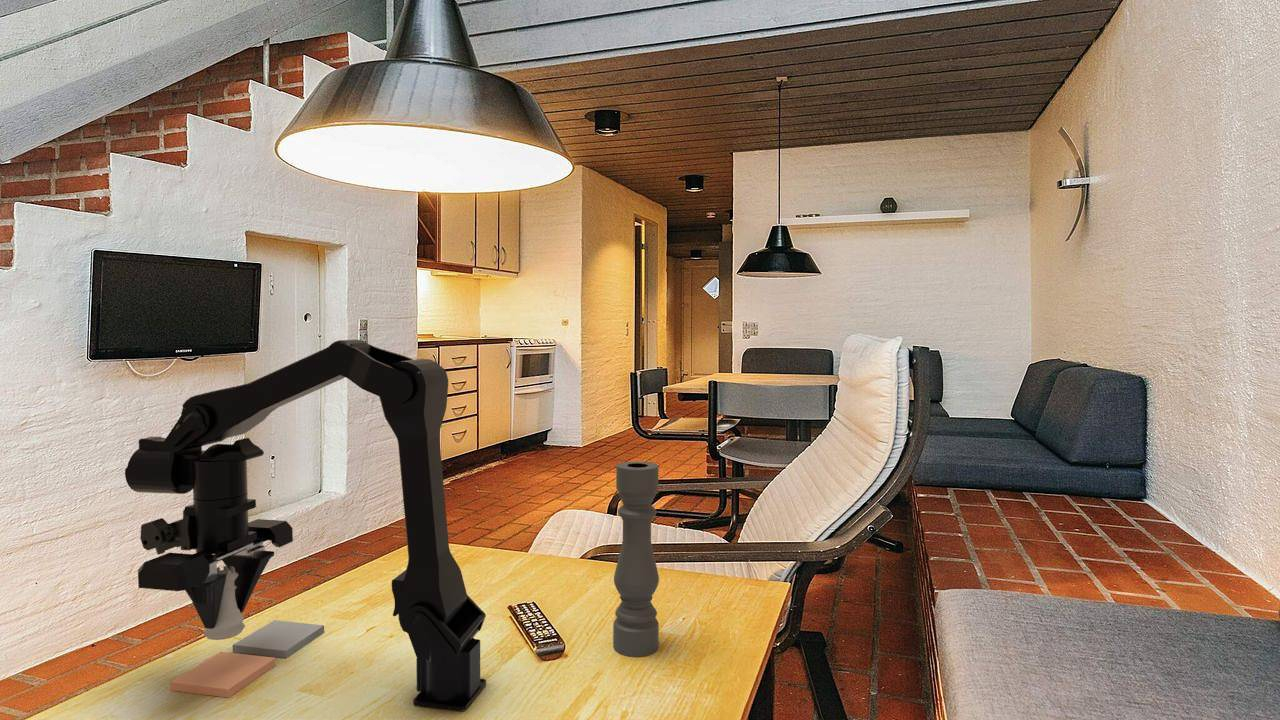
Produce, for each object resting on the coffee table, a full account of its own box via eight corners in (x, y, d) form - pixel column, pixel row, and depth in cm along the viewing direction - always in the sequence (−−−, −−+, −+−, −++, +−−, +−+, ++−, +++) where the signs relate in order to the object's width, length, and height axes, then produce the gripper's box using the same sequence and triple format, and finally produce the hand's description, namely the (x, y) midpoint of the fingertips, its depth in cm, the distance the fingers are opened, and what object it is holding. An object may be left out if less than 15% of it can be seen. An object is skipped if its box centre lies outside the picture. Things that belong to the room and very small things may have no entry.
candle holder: (605, 651, 96) (607, 467, 95) (623, 633, 102) (625, 459, 101) (648, 660, 94) (650, 471, 93) (664, 640, 100) (666, 463, 98)
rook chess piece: (236, 622, 91) (234, 560, 91) (251, 632, 89) (250, 568, 88) (197, 634, 88) (195, 570, 88) (212, 644, 85) (210, 578, 85)
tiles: (324, 632, 102) (324, 625, 101) (228, 697, 84) (228, 689, 84) (274, 626, 103) (274, 620, 103) (169, 690, 85) (169, 682, 85)
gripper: (221, 475, 98) (224, 587, 99) (93, 511, 80) (98, 648, 81) (294, 479, 96) (296, 593, 97) (179, 516, 78) (184, 657, 78)
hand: (224, 620), depth 88 cm, fingers closed on rook chess piece, 4 cm apart
